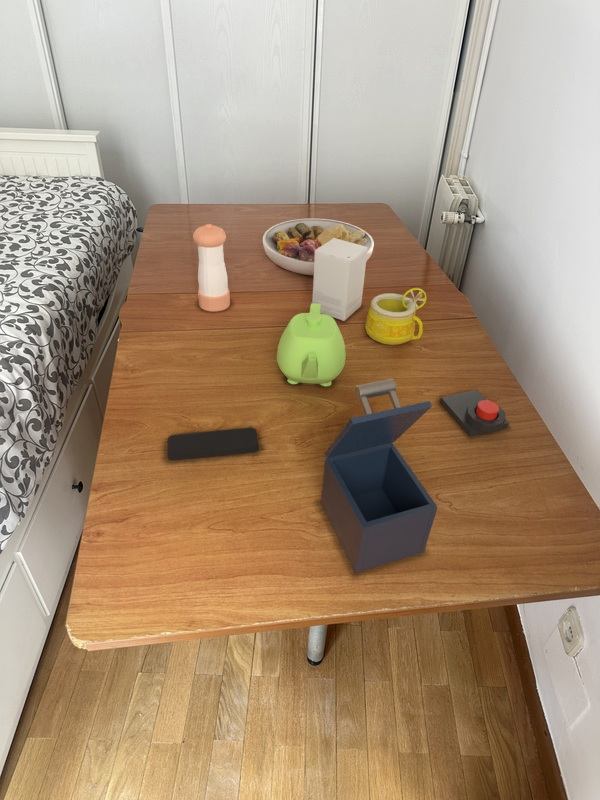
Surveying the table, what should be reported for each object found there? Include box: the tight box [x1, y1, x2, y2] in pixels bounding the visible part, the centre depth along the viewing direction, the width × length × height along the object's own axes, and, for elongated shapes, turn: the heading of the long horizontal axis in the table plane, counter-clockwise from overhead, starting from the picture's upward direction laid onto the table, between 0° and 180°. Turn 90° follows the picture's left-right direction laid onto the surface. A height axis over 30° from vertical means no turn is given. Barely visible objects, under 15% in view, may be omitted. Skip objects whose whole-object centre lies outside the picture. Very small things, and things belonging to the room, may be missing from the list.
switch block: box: [439, 389, 510, 437], centre depth 97 cm, size 11×8×3 cm
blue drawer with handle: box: [324, 378, 433, 458], centre depth 71 cm, size 13×11×5 cm
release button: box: [476, 399, 500, 421], centre depth 94 cm, size 4×4×2 cm
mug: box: [364, 287, 427, 346], centre depth 114 cm, size 13×11×12 cm
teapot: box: [276, 302, 347, 387], centre depth 103 cm, size 20×13×13 cm
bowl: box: [262, 217, 375, 277], centre depth 146 cm, size 30×30×8 cm
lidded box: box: [320, 442, 439, 574], centre depth 75 cm, size 13×11×10 cm
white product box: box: [311, 238, 368, 322], centre depth 122 cm, size 9×9×15 cm
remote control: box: [166, 427, 260, 461], centre depth 89 cm, size 5×2×15 cm
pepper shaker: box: [192, 223, 231, 312], centre depth 120 cm, size 7×7×19 cm
